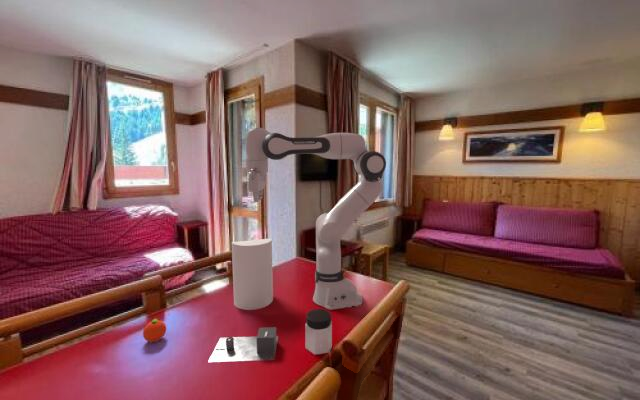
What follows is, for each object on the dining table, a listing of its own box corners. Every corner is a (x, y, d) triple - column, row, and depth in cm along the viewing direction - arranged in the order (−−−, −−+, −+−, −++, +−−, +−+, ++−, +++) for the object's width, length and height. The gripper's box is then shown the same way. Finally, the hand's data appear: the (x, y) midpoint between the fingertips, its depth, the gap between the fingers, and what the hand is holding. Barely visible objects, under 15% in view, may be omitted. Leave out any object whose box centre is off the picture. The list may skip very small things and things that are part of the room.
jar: (307, 359, 85) (307, 323, 84) (303, 343, 93) (303, 310, 92) (335, 355, 87) (335, 320, 86) (328, 339, 95) (328, 307, 94)
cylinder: (276, 305, 119) (275, 243, 116) (235, 313, 113) (233, 247, 109) (269, 289, 135) (267, 234, 132) (232, 295, 128) (230, 237, 125)
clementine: (146, 335, 98) (144, 316, 97) (168, 330, 100) (167, 312, 100) (141, 348, 90) (140, 328, 90) (165, 343, 93) (164, 324, 92)
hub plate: (278, 338, 96) (278, 327, 95) (274, 363, 84) (273, 350, 83) (220, 340, 95) (219, 328, 94) (208, 365, 83) (207, 352, 82)
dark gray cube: (259, 342, 92) (259, 326, 91) (276, 341, 92) (276, 326, 92) (257, 353, 86) (256, 336, 86) (274, 352, 87) (274, 336, 86)
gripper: (260, 167, 104) (261, 203, 105) (268, 167, 124) (269, 197, 126) (243, 167, 103) (245, 203, 105) (254, 167, 124) (255, 198, 125)
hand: (258, 200), depth 116 cm, fingers open, 8 cm apart
